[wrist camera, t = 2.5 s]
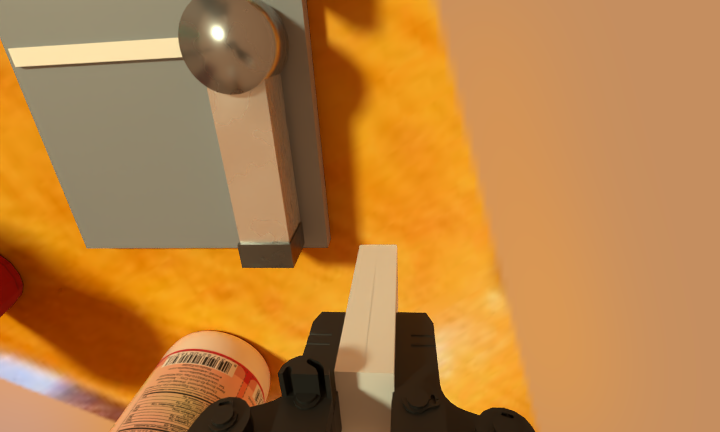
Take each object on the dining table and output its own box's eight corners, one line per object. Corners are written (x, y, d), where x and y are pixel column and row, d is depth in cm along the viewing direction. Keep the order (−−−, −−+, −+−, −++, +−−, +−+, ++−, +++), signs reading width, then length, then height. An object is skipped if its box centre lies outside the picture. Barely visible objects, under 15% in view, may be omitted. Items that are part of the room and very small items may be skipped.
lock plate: (-90, -237, 19) (-246, -323, 14) (276, -295, 17) (230, -416, 12) (98, 240, 30) (44, 277, 25) (330, 239, 28) (317, 279, 23)
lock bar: (200, -1, 20) (167, -6, 17) (282, -7, 20) (262, -14, 17) (250, 243, 26) (231, 269, 23) (313, 243, 26) (302, 269, 23)
